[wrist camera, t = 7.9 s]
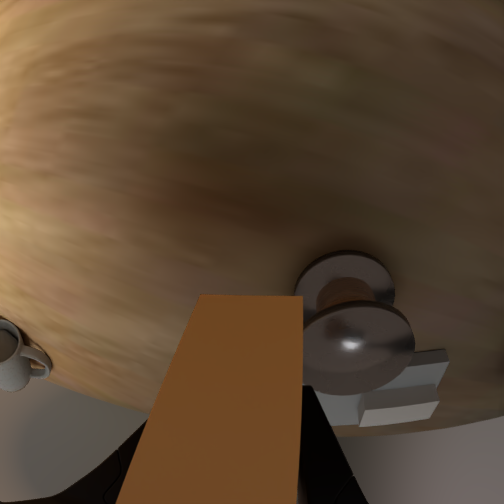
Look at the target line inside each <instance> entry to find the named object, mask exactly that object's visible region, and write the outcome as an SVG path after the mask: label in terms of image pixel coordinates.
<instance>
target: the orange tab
mask: <svg viewBox="0 0 504 504" xmlns="http://www.w3.org/2000/svg"><path fill="white" fill-rule="evenodd" d="M302 377H303V296H250V295H208V294H200V296H199V299H198V301H197V303H196V306H195V308H194V310H193V312H192V315H191V317H190V319H189V322H188V324H187V326H186V329H185V331H184V333H183V336H182V338H181V340H180V343H179V345H178V347H177V350H176V352H175V354H174V357H173V359H172V362H171V364H170V366H169V369H168V371H167V374H166V376H165V378H164V381H163V383H162V386H161V388H160V391H159V393H158V395H157V398H156V400H155V403H154V405H153V408H152V410H151V413H150V415H149V418H148V420H147V423H146V425H145V428H144V430H143V433H142V435H141V438H140V441H139V443H138V446H137V448H136V451H135V453H134V456H133V459H132V461H131V464H130V466H129V469H128V472H127V474H126V477H125V480H124V482H123V485H122V488H121V491H120V493H119V496H118V499H117V501H116V504H296V498H297V485H298V470H299V454H300V435H301V411H302Z"/></svg>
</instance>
